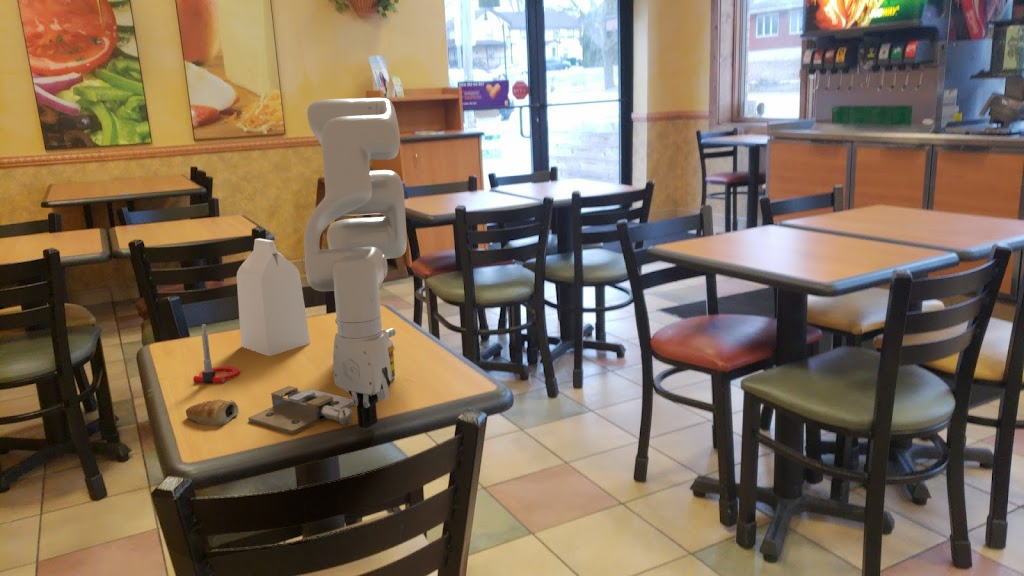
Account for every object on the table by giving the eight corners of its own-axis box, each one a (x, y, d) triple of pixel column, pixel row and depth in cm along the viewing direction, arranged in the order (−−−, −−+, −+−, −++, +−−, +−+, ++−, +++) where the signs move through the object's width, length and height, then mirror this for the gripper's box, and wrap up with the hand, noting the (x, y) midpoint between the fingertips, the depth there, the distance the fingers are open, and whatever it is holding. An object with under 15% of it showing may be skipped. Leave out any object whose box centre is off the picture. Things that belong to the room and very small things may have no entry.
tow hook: (211, 370, 177) (189, 383, 168) (206, 314, 174) (183, 325, 165) (247, 371, 176) (226, 385, 167) (242, 315, 173) (220, 325, 164)
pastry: (178, 424, 148) (175, 405, 147) (199, 410, 154) (197, 392, 153) (223, 427, 146) (221, 408, 145) (243, 413, 152) (241, 394, 151)
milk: (241, 346, 191) (228, 241, 185) (282, 334, 200) (271, 233, 193) (269, 356, 184) (256, 246, 177) (310, 343, 192) (299, 238, 186)
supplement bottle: (375, 385, 163) (371, 338, 161) (364, 378, 168) (360, 332, 165) (399, 379, 166) (396, 333, 164) (388, 372, 171) (384, 327, 168)
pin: (304, 407, 152) (302, 393, 152) (353, 421, 146) (351, 406, 145) (292, 413, 150) (290, 398, 149) (341, 427, 143) (339, 411, 142)
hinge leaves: (312, 393, 160) (311, 376, 159) (356, 404, 154) (354, 386, 153) (248, 421, 147) (246, 403, 146) (293, 434, 141) (290, 416, 140)
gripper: (313, 326, 138) (322, 424, 142) (377, 339, 130) (385, 441, 134) (344, 316, 144) (352, 409, 148) (406, 327, 136) (413, 425, 140)
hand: (367, 424), depth 141 cm, fingers closed
